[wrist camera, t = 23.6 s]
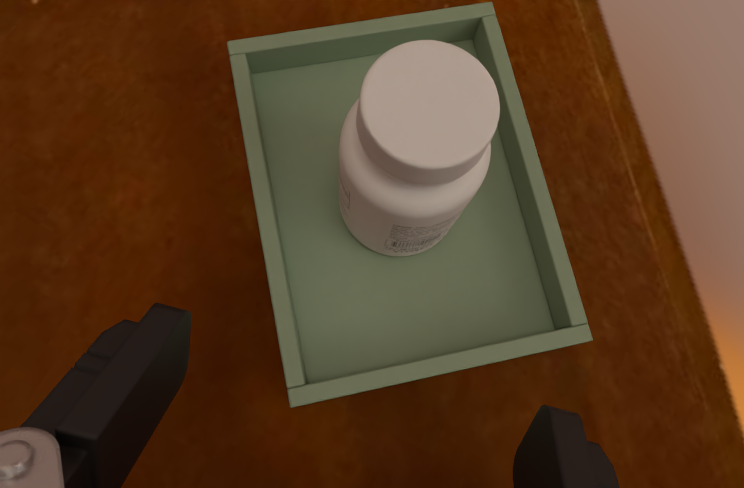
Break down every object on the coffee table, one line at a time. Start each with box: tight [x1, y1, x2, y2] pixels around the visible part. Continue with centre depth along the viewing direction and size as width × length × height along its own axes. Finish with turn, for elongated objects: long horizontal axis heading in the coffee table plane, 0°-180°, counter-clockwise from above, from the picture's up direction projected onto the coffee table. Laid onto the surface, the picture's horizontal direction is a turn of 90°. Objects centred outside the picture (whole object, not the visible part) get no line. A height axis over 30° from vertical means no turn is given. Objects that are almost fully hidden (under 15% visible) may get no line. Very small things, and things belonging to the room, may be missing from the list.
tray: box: [227, 2, 593, 408], centre depth 20 cm, size 13×10×2 cm
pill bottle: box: [338, 40, 500, 256], centre depth 17 cm, size 4×4×8 cm
